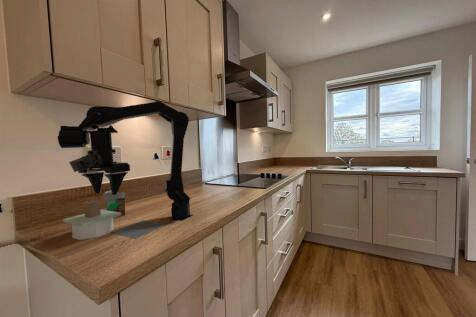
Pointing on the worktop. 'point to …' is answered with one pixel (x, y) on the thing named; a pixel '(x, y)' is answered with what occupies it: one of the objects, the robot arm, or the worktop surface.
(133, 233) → the mat
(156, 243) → the worktop surface
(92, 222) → the lid
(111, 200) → the food container
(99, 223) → the bowl
